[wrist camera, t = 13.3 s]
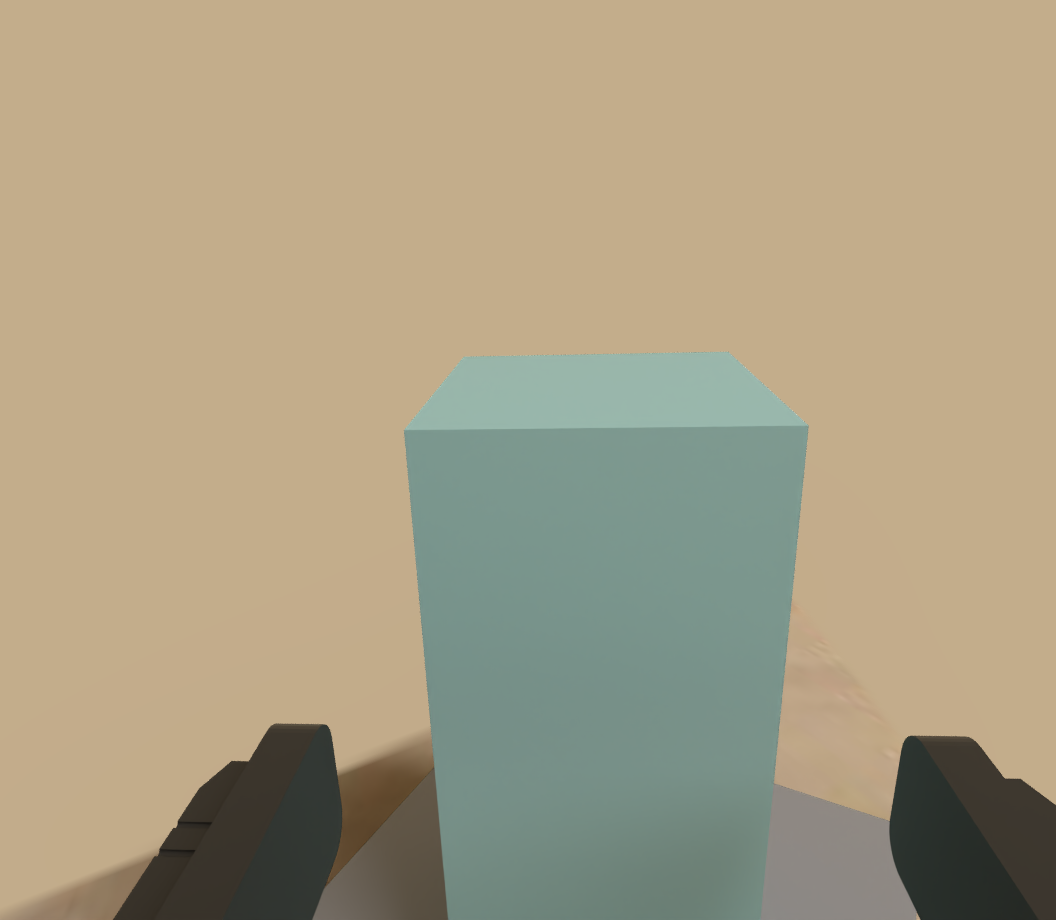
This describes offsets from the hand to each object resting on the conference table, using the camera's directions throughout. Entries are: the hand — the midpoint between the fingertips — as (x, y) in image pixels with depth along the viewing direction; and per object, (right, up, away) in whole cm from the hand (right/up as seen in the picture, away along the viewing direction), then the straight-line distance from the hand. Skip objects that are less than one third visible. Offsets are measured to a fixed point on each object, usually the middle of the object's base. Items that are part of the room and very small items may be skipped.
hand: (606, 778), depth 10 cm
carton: (+1, -7, +8) cm, 11 cm away
